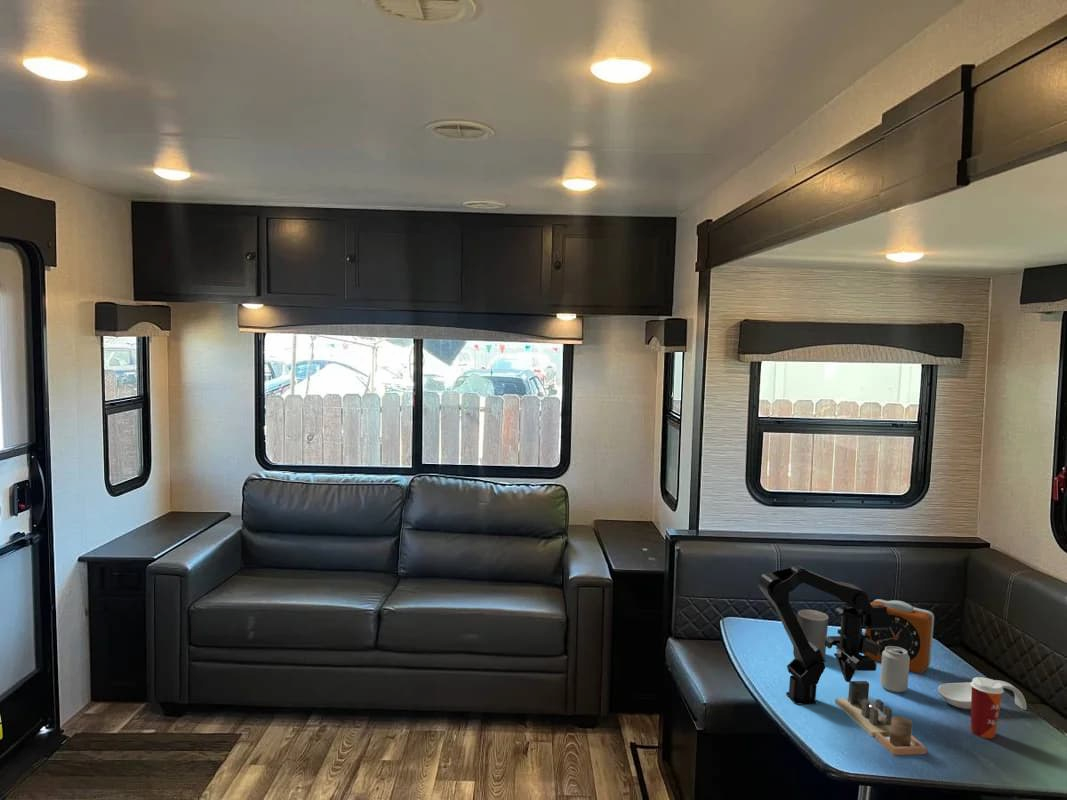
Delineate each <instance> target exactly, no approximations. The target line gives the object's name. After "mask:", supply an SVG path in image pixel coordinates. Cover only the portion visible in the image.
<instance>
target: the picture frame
mask: <svg viewBox="0 0 1067 800" xmlns="http://www.w3.org/2000/svg"><path fill="white" fill-rule="evenodd" d="M875 740H876V741H877V742H878V743H879V744H880V745H881V746H883V747H884V748H885V749H886V751H888V752H889V753H890V754H891V755H892V756H901V755H902V756H903V755H904V756H905V755H907V756H909V755H927V752H928V751H927V747H926V746H925V745H924V744H923V743H922V742H921V741H920V740H918V739H917V738H916V737H915V736H914V735H912V734H911V742H910V746H900V747H896V746H894V745H892V744H891V743H890V736H883V735H881V734H880V733H876V736H875Z"/></svg>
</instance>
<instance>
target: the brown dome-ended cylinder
mask: <svg viewBox="0 0 1067 800" xmlns="http://www.w3.org/2000/svg"><path fill="white" fill-rule="evenodd" d="M912 731H913V722H912V720H910V719H909V718H907V717H903V716H898V715H897V716H895V715H894V716H893V717H892V722H891V732H890V736H889V737H890V743H891V744H892V745H894V746H896V747H900V746H910V742H911V735H912Z"/></svg>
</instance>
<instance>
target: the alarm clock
mask: <svg viewBox="0 0 1067 800" xmlns="http://www.w3.org/2000/svg"><path fill="white" fill-rule="evenodd" d="M869 603H870V604H871V606H877V605H884V606H885V607H887V612H888V614H889V617H890V620H891V624H890V627H889V628H888V629H875V630H868V629H866V628H865V627H864V628H865V629H864V631H865V632H864V633H866V634H868V635H869V636H870V639H871V640H873V641H875V642H876V643H877V644H879V645H880V646H881V649H880V651H879V653H878V656H874V654H871V653H868V652H866V654H863V656H864V655H867V656H869V657H870V658H871V659H873V660H874V661H875V662H876V663H879V664H882V652H883V651H884V650H885V647H887V646H895V647H900V648H903V649H905V650H906V651H907V652H908V655H909V657H910V662H909V672H912V673H915V674H923V673H924V672H926V670H927V669H928V668H929V667H930V666H931V663H932V662H931V660H932V650H933V649H932V647H933V637H934V636H933V635H934V625H935V615H934V613H933V612H932V611H930V610H927V609H922V608H918V607H915V606H913V605H911V604H910V603H908V602H905V601H902V600H894V599H893V600H885V599H880V598H878V599H874V600H873V601H872V602H869Z"/></svg>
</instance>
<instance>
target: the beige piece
mask: <svg viewBox="0 0 1067 800" xmlns="http://www.w3.org/2000/svg"><path fill="white" fill-rule="evenodd" d="M834 700H835V701H834V703H835V704H836V705H837V707H839V708H840V709H841V710H842V711H843V712H844V713H845V714H847V715H848V716H849V718H851V719H852V720H853V721H854V722H855V723H856V724H858V726H859V727H860V728H861V729H863V730H864V731H865V732H866V733H867V734H868V735H869V736H870V737H871V738H873V737H875V736H876V733H880V734H881V735H883V736H884V737H890V732H891V722H892V715H893V709H892V708H890V707H889V706H888V705H887V706H885V705H884V704H885V703H884V701H882V700H881V699H878V698H877V699H876V700H875V702H874V701H873V700H871V699H870V698H869V697H868V700H869V701H870V702H871V703H872V704H873V705H875V706H876V707H877V708H878V709H879V710H880V711H882V712H883V713H884V714H885V715H886V716H887V717H888V721H887V722H886V723H884V724H882V723H881V722H879V721H878V720H877V717H878V710H877V709H876V708H875V707H870V703H869V702H868V701H867V700H862V706H861V705H860V704H851V703H850V702H849V701H848V697H847V698H846V697H845V698H835V699H834ZM869 708H870V713H869Z"/></svg>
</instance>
